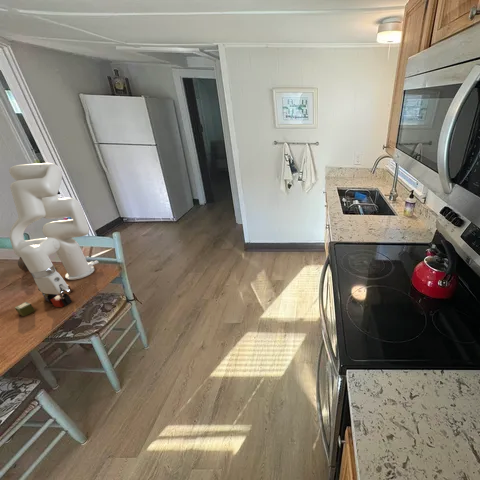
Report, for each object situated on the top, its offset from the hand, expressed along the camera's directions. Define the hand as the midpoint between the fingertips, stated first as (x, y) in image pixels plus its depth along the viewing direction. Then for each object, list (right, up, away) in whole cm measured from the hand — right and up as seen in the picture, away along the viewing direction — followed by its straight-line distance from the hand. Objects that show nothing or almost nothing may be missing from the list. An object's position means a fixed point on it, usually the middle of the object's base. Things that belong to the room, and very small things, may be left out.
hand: (61, 302), depth 126 cm
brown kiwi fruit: (-44, +13, +27) cm, 53 cm away
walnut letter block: (-5, +3, +8) cm, 10 cm away
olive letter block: (-11, -3, -5) cm, 12 cm away
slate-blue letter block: (-7, +1, +3) cm, 8 cm away
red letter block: (0, -1, 0) cm, 1 cm away
